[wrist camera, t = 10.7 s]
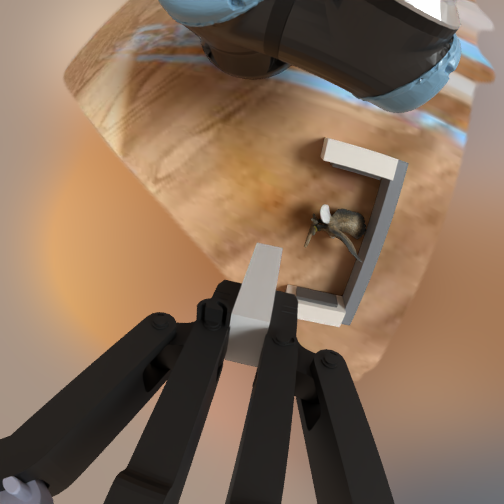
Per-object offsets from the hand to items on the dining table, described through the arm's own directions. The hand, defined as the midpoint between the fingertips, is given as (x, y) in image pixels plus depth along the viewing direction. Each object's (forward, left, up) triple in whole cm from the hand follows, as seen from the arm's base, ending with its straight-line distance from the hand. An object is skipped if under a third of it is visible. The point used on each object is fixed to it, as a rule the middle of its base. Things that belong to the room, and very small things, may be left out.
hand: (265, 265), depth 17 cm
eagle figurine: (+5, +9, -28) cm, 30 cm away
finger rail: (+6, +10, -28) cm, 31 cm away
